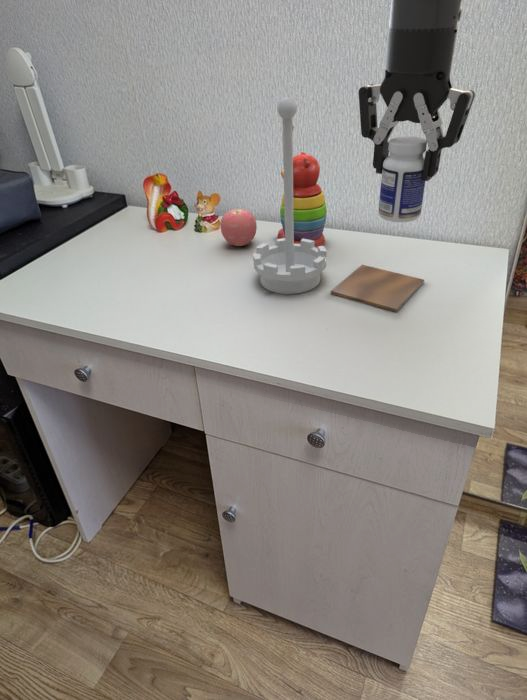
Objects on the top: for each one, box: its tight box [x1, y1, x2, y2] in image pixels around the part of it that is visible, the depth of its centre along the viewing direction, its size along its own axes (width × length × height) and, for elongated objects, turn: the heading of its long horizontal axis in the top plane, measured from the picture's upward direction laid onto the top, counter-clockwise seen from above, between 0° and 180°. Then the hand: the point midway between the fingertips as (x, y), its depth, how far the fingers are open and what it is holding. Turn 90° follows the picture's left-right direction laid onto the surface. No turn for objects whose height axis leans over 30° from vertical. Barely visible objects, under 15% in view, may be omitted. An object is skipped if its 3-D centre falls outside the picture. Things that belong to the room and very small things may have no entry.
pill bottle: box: [378, 136, 428, 223], centre depth 65 cm, size 6×6×10 cm
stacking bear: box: [277, 151, 328, 248], centre depth 98 cm, size 11×10×18 cm
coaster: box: [330, 264, 425, 313], centre depth 86 cm, size 12×12×1 cm
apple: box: [219, 208, 258, 247], centre depth 102 cm, size 7×7×8 cm
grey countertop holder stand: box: [252, 97, 328, 295], centre depth 82 cm, size 13×13×30 cm
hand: (403, 175), depth 65 cm, fingers closed on pill bottle, 5 cm apart
